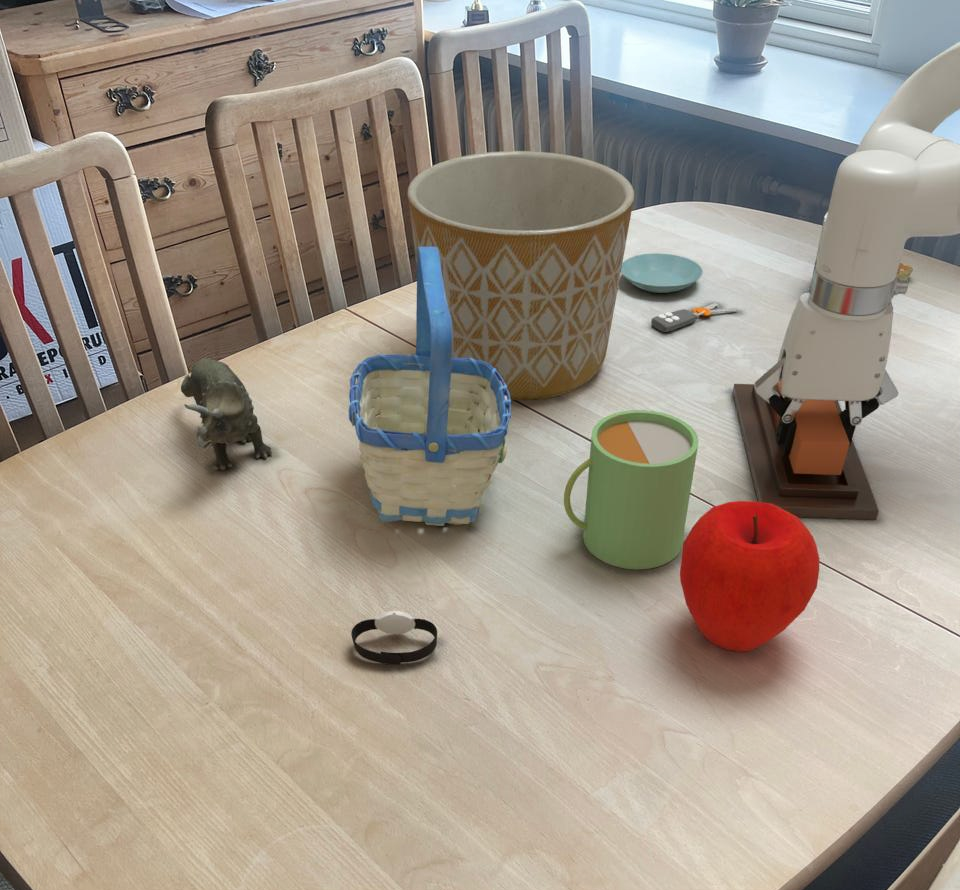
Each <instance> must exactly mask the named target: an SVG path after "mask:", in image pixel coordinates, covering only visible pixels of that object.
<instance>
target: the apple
mask: <svg viewBox="0 0 960 890" xmlns="http://www.w3.org/2000/svg"><path fill="white" fill-rule="evenodd" d="M681 551H682V552H681V559H680V571H679V578H680V579H679V580H680V586H681V588H682V592H683V596H684V600H685V605H686V606H687V608H688V611H689V613H690V615H691V618H692V619H693V621H694V623H695V624H696V626H697V627H698V629H699V630H700V632H701V633H702V635H703V636H704V637H705V638H706V639H707V640H709V642H711V643H712V644H713V645H715V646H717V647H718V648H719V647H720V648H722V649H724V650H727V651H728V650H729V651H735V652H749V651H751V650H753V649H756V648H759V647H760V646H763V645H764V644H766V643H768V642H770V641H771V640H772V639H774V638H775V637H777V636H778V635H779V634H781V633H782V632H784V631H785V630H786V629H787V628H788V627H789V626H790V625H791V624H792V623H793V622H794V621H795V620H796V619H797V618H798V617H799V616H800V615H801V614H802V613H803V612H804V611H805V609H806V608H807V606H808V604H809V602H810V601H811V599H812V597H813V595H814V593H815V592H816V590H817V588H818V582H819V575H820V559H821V558H820V555H819V551H818V545H817V543H816V541H815V539H814V536H813V535H812V533H811V531H810V530H809V528H808V527H807V526H806V525H805V524H804V523H803V522H802V520H801V519H800V517H797V516H795V515H793V514H791V513H789V512H787V511H785V510H783V509H781V508H780V507H778V506H776V505H774V504H770V503H762V502H758V501H753V500H751V501H748V500H747V501H746V500H736V501H735V500H734V501H727V502H724V503H722V504H718V505H715V506H712V507H711V508H710V509H708V510H707V511H706V512H705V513H704V514H703V515H702V516H700V517H699V519H698V520H697V521H696V522H695V524H694V525H693V526H692V527H691V529H690V531H689V533H688V534H687V536H686V538H685V539H684V540H683V542H682V549H681Z"/></svg>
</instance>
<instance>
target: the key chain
mask: <svg viewBox="0 0 960 890" xmlns="http://www.w3.org/2000/svg"><path fill="white" fill-rule="evenodd" d="M716 307H717V308H718V307H719V304H718V303H715V302H713V303H711V304H709V305H706V306H705V307H701V306H700V307H695V308H693V309H692V311H690V310H688V309H684V308H683V309H678V310H675V311H666V312H665V313H664V314H663V313H660V314H658V315H656V316H654V317H651V325H652V326H653V328H655V329H657V330H658V331H660V332H663V333H667V332H672V331H675V330H678V329H680V328H683V327H686V326H688V325H691V324H692V323H694V322H695V321H696V320H697V318H699V317H700V316H704V317H709V316H711V315H712V313H713V314H715V313H728V312H738V311H739V310H738V309H737V308H725V309H723V308H722V309H715V308H716Z"/></svg>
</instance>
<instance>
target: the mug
mask: <svg viewBox="0 0 960 890" xmlns="http://www.w3.org/2000/svg"><path fill="white" fill-rule="evenodd" d="M699 441H700V440H699V436H698V434H697V432H696V431H695V429H694V428H693V427H692V426H691V425H690V424H689V423H687V422H686V421H684V420H682V419H680V418H679V417H677V416H674V415H671V414H667V413H665V412H661V411H655V410H646V409H631V410H624V411H623V410H622V411H618V412H615V413H612V414H609V415H606V416H605V417H603V418H602V419H599V421H597V422H596V424H594V426H593V428H592V430H591V438H590V451H589V458H588V459H587V460H584V461H583V462H582V463H581V464H580V465H579V466H578V467H576V469H574V471H573V472H572V474H570V476H569V478H568V480H567V483H566V485H565V489H564V493H563V507H564V510H565V513H566V515H567V517H568V518H569V520H570V521H571V522H572V523H573V524H574V525H575V526H577V527H578V528H580V529H582V530H583V532H582V533H583V535H582V538H583V544H584V545H585V547H586V549H587V551H588V552H589V553H590V554H591V555H593V556H594V557H595V558H596V559H597V560H599V561H601V562H603V563H604V564H607V565H609V566H613V567H616V568H620V569H625V570H626V569H627V570H649V569H654V568H658V567H662V566H664V565H667V564H668V563H670V562H672V561H673V560H674V559H675V558H676V557H677V556H678V555H679V554H680V552H681V551H682V548H683V542H684V533H685V527H686V522H687V516H688V510H689V503H690V498H691V491H692V485H693V478H694V472H695V466H696V461H697V455H698V448H699V443H700V442H699ZM587 469H588V472H587V473H588V474H587V486H586V499H585V510H584V521H582V520H581V519H579V518H578V517H577V516H576V515H575V513H574V511H573V509H572V506H571V494H572V490H573V488H574V485H575V483H576V481H577V479H578V478H579V477H580V476H581V474H582V473H583V472H584V471H585V470H587Z"/></svg>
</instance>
